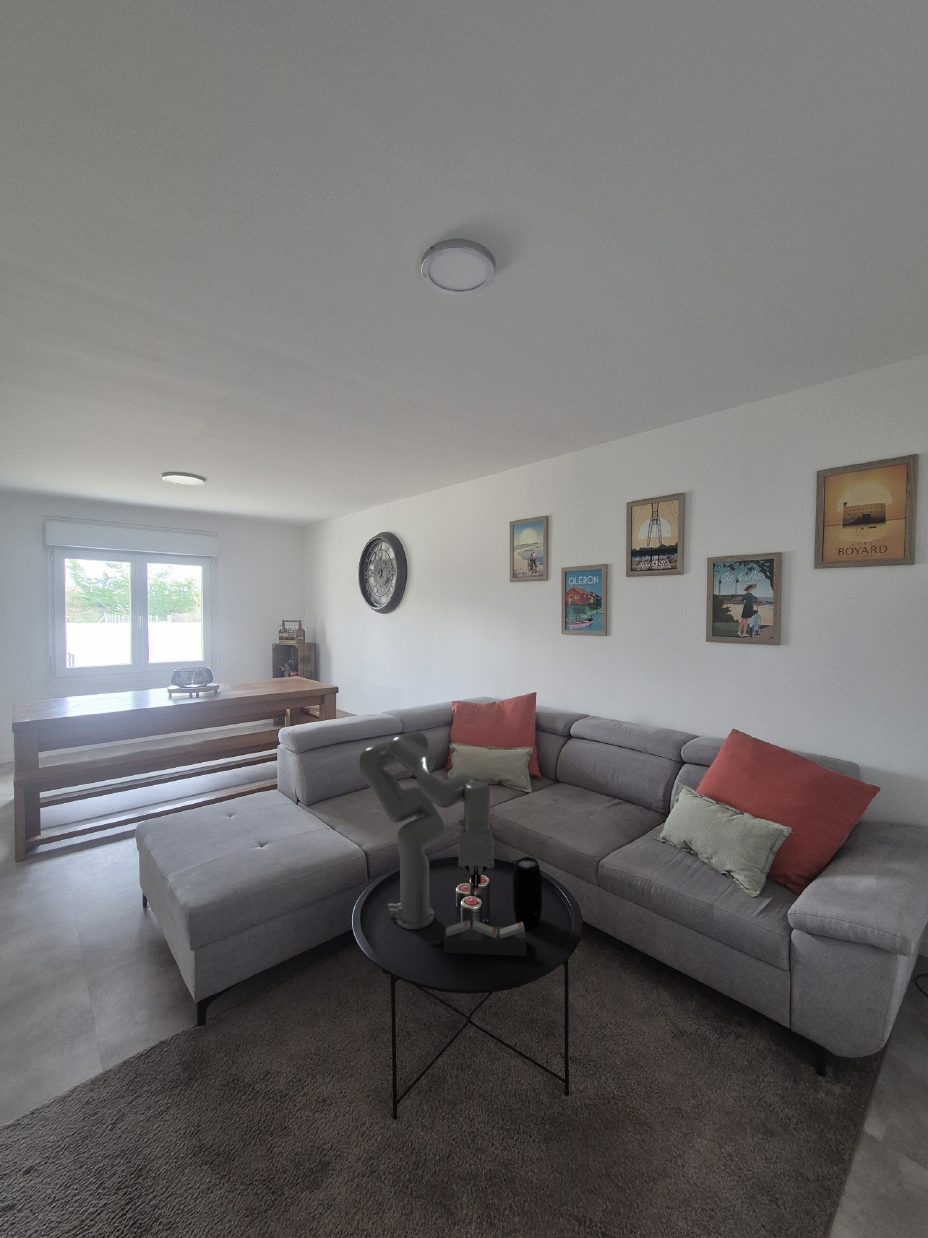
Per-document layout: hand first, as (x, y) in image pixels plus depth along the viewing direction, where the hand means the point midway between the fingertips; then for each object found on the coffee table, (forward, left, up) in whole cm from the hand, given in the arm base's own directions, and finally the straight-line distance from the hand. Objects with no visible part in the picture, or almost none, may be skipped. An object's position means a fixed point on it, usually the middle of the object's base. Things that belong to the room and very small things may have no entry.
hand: (475, 886), depth 149 cm
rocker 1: (-5, 0, -13) cm, 14 cm away
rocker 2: (+3, 0, -13) cm, 13 cm away
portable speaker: (+16, +14, -19) cm, 29 cm away
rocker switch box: (+1, +1, -19) cm, 19 cm away
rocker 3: (+11, 0, -13) cm, 16 cm away
